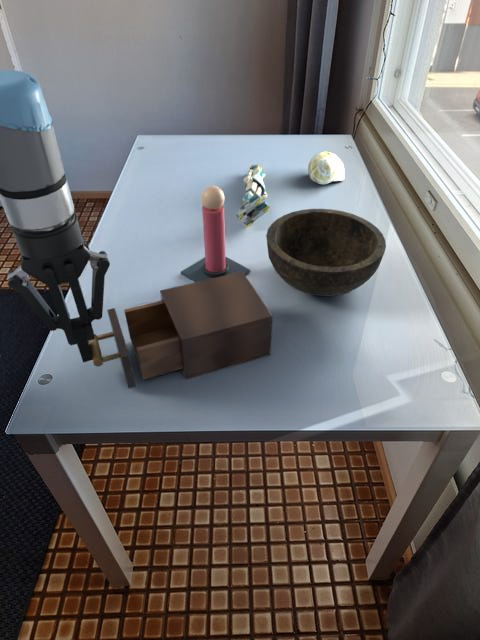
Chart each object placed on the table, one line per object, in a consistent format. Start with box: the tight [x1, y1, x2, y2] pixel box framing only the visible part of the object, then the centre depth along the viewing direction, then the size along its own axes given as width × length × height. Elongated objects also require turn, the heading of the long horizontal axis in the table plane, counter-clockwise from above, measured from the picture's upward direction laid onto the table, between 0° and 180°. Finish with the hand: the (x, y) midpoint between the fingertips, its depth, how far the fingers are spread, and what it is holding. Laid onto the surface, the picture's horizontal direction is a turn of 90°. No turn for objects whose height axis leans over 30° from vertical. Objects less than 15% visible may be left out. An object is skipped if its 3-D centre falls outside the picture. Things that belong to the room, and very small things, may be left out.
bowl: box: [265, 208, 387, 297], centre depth 90 cm, size 22×22×10 cm
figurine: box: [235, 164, 271, 228], centre depth 117 cm, size 7×8×30 cm
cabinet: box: [159, 271, 274, 380], centre depth 78 cm, size 15×13×9 cm
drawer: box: [89, 300, 184, 389], centre depth 75 cm, size 17×11×7 cm, turn 111°
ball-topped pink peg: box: [200, 185, 229, 278], centre depth 89 cm, size 5×5×18 cm
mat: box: [180, 256, 252, 283], centre depth 95 cm, size 10×10×1 cm
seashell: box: [307, 151, 345, 185], centre depth 125 cm, size 10×10×10 cm
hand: (86, 355), depth 72 cm, fingers closed
